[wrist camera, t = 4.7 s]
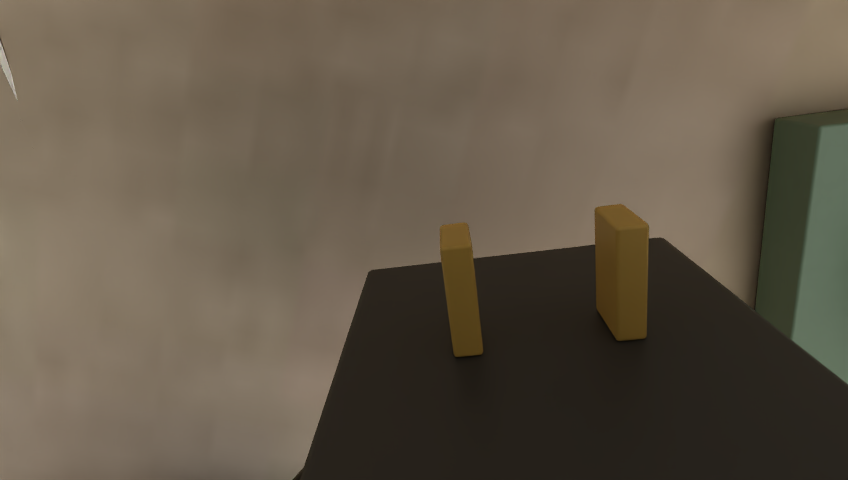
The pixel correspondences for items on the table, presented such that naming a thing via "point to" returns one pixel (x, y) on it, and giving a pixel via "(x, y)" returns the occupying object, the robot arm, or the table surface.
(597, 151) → the table surface
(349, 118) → the table surface
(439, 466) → the charger head
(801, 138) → the switch box
